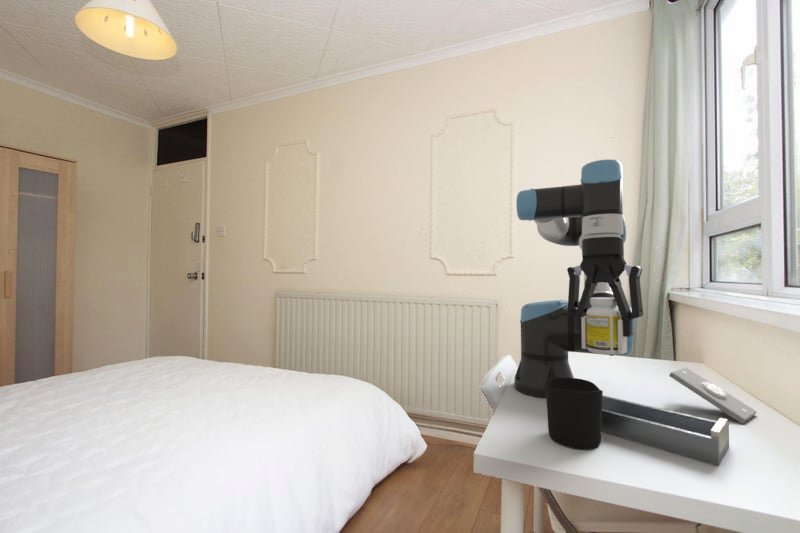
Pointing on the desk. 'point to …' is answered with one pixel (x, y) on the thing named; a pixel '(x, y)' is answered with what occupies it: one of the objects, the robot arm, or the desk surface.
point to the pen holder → (574, 412)
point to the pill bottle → (602, 326)
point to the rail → (666, 429)
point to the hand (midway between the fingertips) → (603, 350)
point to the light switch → (713, 395)
